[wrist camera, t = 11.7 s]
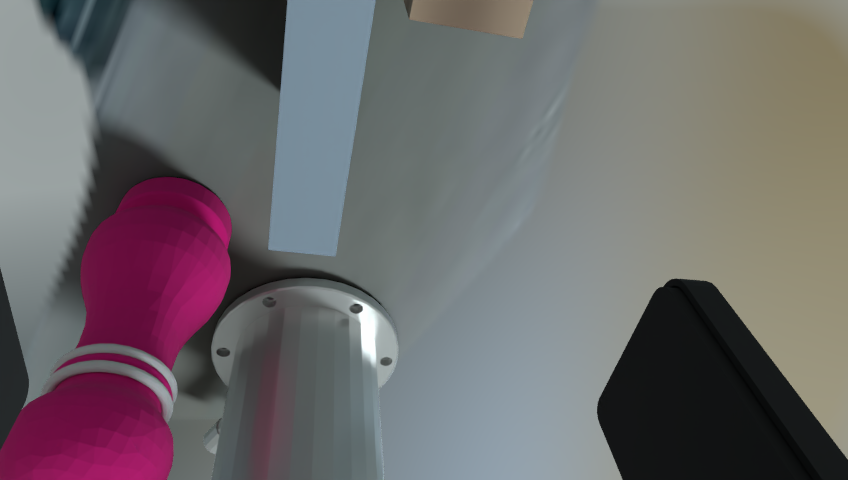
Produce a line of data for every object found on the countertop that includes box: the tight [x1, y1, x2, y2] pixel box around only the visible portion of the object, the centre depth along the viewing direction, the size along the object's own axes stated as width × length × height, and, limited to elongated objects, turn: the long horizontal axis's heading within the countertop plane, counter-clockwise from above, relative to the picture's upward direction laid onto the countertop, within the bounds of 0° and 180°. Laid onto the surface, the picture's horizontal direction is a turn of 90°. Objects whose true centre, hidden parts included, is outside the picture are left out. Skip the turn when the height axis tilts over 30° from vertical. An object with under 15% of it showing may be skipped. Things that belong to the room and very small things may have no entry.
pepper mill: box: [0, 177, 232, 480], centre depth 28 cm, size 7×7×20 cm
